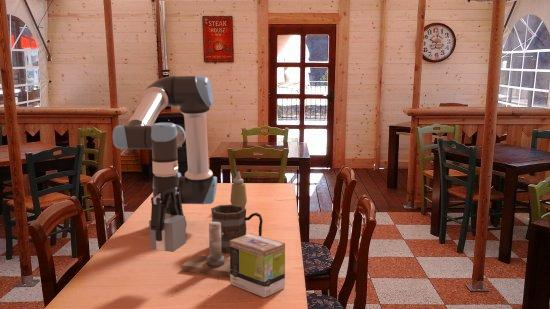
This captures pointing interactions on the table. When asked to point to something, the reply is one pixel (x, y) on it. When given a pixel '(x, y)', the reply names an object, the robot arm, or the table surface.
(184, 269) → the brown base with rod
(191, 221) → the table surface
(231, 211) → the mug
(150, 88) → the robot arm
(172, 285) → the table surface
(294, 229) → the table surface
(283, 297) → the table surface
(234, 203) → the squeeze bottle
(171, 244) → the gray cube
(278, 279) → the tea box
